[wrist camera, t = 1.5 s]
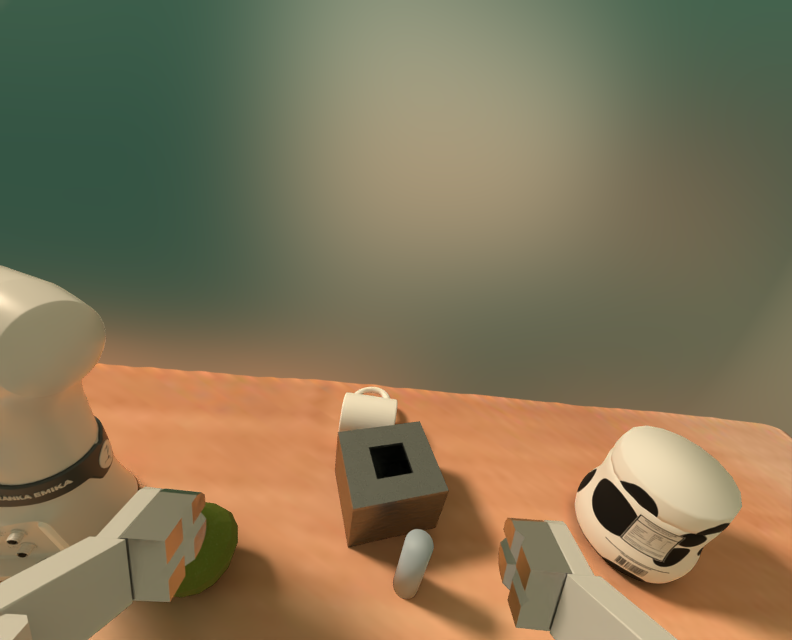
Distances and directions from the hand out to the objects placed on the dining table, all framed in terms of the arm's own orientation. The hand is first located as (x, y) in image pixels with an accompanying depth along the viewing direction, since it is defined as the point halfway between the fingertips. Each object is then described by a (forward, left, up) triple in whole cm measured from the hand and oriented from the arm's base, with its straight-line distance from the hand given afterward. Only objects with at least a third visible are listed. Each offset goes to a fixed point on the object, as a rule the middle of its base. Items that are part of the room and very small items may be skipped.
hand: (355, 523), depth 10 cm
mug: (+15, +44, -49) cm, 67 cm away
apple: (-13, +23, -49) cm, 56 cm away
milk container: (+52, +14, -49) cm, 73 cm away
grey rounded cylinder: (+14, +15, -49) cm, 53 cm away
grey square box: (+14, +28, -49) cm, 58 cm away
